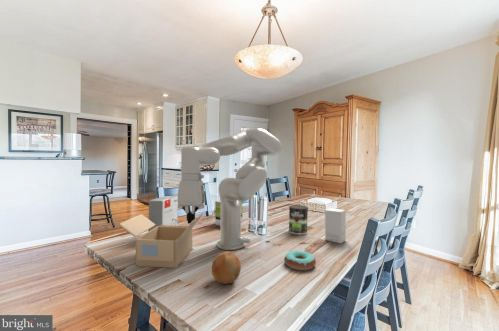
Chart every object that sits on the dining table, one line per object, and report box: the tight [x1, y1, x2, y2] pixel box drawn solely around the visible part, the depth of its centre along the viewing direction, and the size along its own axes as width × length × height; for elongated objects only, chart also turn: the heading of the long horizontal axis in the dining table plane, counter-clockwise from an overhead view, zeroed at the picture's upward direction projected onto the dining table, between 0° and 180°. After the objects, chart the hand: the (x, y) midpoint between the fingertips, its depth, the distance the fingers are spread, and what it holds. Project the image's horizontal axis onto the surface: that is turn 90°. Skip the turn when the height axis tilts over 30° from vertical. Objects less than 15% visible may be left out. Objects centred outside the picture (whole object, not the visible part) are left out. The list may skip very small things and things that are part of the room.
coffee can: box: [288, 204, 309, 236], centre depth 136 cm, size 10×10×14 cm
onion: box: [211, 250, 242, 285], centre depth 81 cm, size 10×10×10 cm
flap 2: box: [179, 211, 205, 239], centre depth 99 cm, size 1×16×8 cm
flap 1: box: [118, 213, 155, 238], centre depth 101 cm, size 1×16×8 cm
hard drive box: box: [147, 195, 178, 232], centre depth 125 cm, size 16×8×20 cm, turn 168°
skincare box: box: [324, 207, 347, 244], centre depth 123 cm, size 8×7×16 cm
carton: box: [135, 225, 193, 269], centre depth 100 cm, size 16×20×10 cm
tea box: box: [214, 199, 243, 227], centre depth 151 cm, size 15×10×15 cm, turn 144°
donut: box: [283, 250, 317, 271], centre depth 95 cm, size 12×12×4 cm
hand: (190, 222), depth 99 cm, fingers closed
